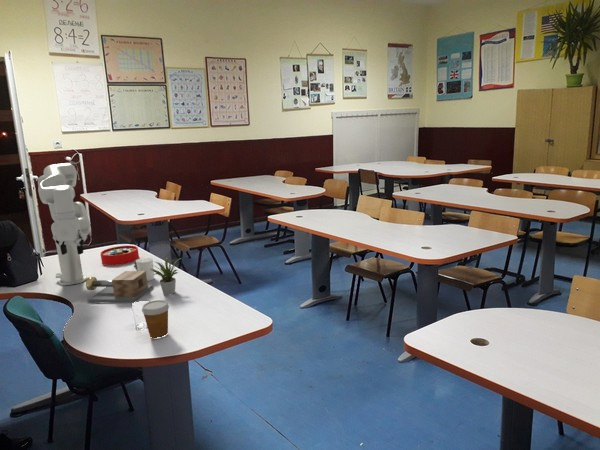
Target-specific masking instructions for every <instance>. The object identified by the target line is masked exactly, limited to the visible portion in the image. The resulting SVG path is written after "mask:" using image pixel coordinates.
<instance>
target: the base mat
mask: <svg viewBox="0 0 600 450" xmlns="http://www.w3.org/2000/svg"><path fill="white" fill-rule="evenodd" d="M153 289H154V285H153V284H148V288H146V289H145V290H144V291H142V292H141V293H140V294H139V295H137V296H136V297H114V291H113V287H103V288H102V289H101V290H99V291H98V292H97V293H95V294H94V295H91V297H89V298H88V299H87V303H88V302H116V303H115V304H117V302H118V304H119V303H120V304H125V303H126V304H129V303H130V304H133V303H132V302H135V301H137V302H138V301H139V300H140V299H141V298H143V297H144V296H145V295H146V294H148V293H149V292H150V291H152V290H153ZM135 303H136V302H135Z"/></svg>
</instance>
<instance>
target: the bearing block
mask: <svg viewBox="0 0 600 450" xmlns="http://www.w3.org/2000/svg"><path fill="white" fill-rule="evenodd" d="M111 280H112V284H113V291H114V297H136V296H137V295H139V294H140V293H141V292H142V291H144V290H145V289H146V288H148V285H149V284H148V281H147V277H146V271H138V270H124V271H123V272H121V273H120V274H119V275H117V276H115V277H114V278H113V279H111Z"/></svg>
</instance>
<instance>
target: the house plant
mask: <svg viewBox="0 0 600 450" xmlns="http://www.w3.org/2000/svg"><path fill="white" fill-rule="evenodd" d="M181 259H182V257H181V258H178V259H176V260H174V261H173V260H168V257H166V258H165V259H164V262H165V263H164V264H163V263H162V262H160V261H159V260H157V261H154V260H153V263H156V264H157V265H158V266H159V267H158V266H156V265H154V264H153V267H156V268H157V269H158V270H157V269H150V270H152V271H154V274H153V275H154V276H155V275H158V277H161V279H160V280H159V283H160V287H161V290H162V294H163V296H164V295H165V296H171V295H170V294H172V295H174V294H175V293H176V285H177V283H176V281H177V279H176V278H175V277H173V276H174V275H177V274H178V273H180V272H177V271H178V269H175V267H176V266H177V264H178V261H180V260H181ZM168 262H169V263H168ZM172 262H173V264H172ZM171 265H172V266H171ZM173 293H174V294H173Z"/></svg>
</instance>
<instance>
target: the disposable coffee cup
mask: <svg viewBox="0 0 600 450" xmlns="http://www.w3.org/2000/svg"><path fill="white" fill-rule="evenodd" d="M169 308H170V305H169V303H168V301H166V300H161V299H156V300H151V301H148V302H146V303H144V304H143V305H142V309H141V312H142V314H143V317H144V320H145V323H146V327H147V330H148V334H149V337H152V338H157V337H162V336H164V335H166V334H167V333H168V334H169ZM152 338H151V339H152Z"/></svg>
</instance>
